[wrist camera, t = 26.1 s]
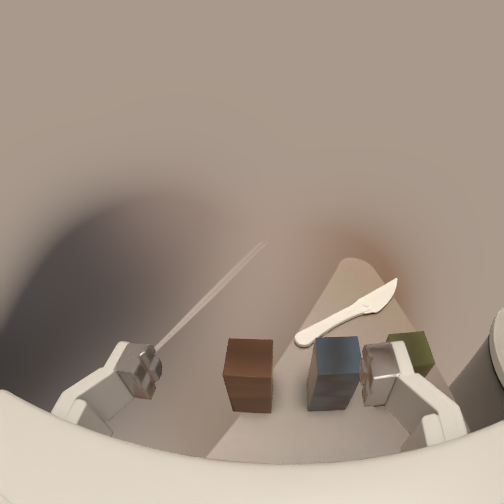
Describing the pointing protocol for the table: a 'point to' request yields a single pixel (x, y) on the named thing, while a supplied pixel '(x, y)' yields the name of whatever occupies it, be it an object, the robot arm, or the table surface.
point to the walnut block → (249, 374)
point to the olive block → (415, 351)
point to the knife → (348, 314)
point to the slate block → (333, 373)
